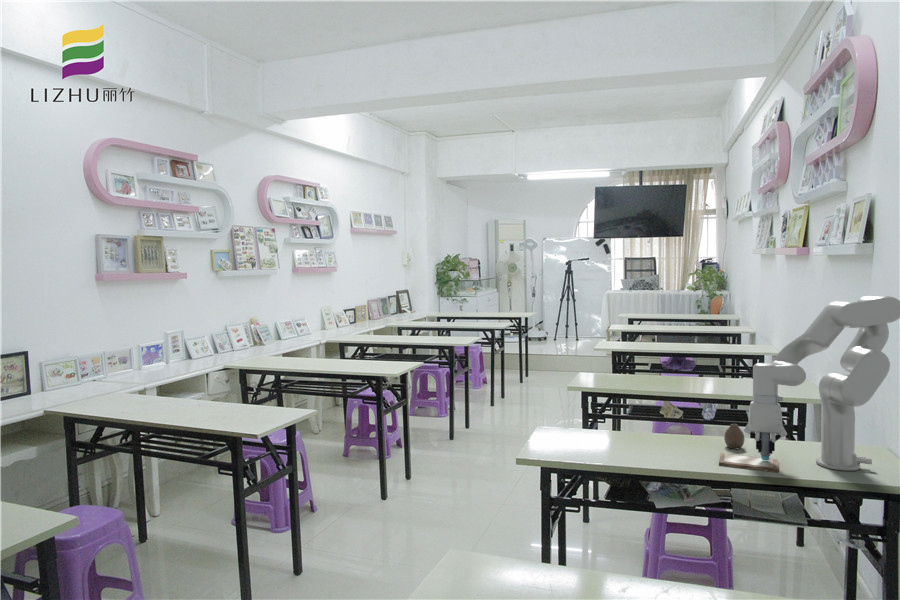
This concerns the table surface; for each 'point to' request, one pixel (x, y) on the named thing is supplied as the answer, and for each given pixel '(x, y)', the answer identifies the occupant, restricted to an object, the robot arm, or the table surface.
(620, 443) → the table surface
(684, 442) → the table surface
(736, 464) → the brown picture frame
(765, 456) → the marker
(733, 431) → the vase
